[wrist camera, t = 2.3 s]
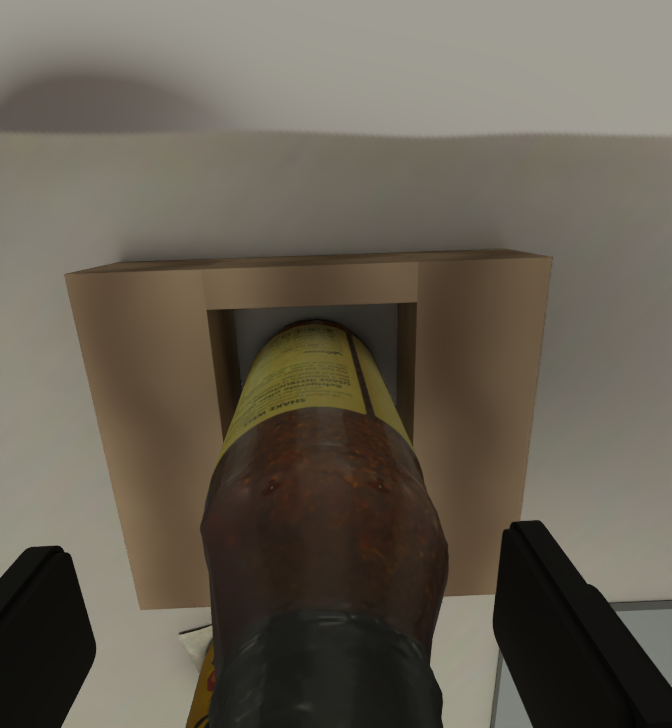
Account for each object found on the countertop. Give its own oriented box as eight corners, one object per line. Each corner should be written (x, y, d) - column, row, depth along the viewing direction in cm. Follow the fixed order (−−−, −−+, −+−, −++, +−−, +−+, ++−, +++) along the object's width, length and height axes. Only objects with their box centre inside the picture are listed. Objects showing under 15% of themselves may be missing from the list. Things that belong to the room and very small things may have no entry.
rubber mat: (755, 596, 28) (764, 604, 27) (697, 762, 33) (703, 772, 32) (504, 608, 28) (508, 616, 27) (485, 772, 33) (487, 782, 32)
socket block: (505, 248, 20) (552, 257, 16) (479, 530, 26) (511, 593, 21) (119, 262, 20) (64, 274, 16) (171, 543, 25) (140, 609, 21)
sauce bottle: (233, 394, 22) (-242, 1305, 4) (293, 290, 21) (-1, 965, 2) (341, 451, 24) (403, 1356, 5) (406, 357, 22) (874, 1171, 3)
